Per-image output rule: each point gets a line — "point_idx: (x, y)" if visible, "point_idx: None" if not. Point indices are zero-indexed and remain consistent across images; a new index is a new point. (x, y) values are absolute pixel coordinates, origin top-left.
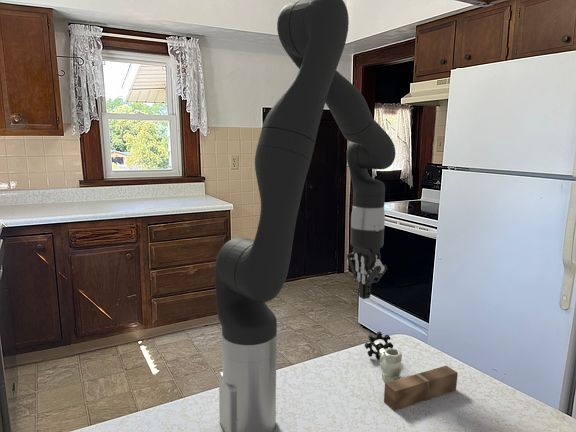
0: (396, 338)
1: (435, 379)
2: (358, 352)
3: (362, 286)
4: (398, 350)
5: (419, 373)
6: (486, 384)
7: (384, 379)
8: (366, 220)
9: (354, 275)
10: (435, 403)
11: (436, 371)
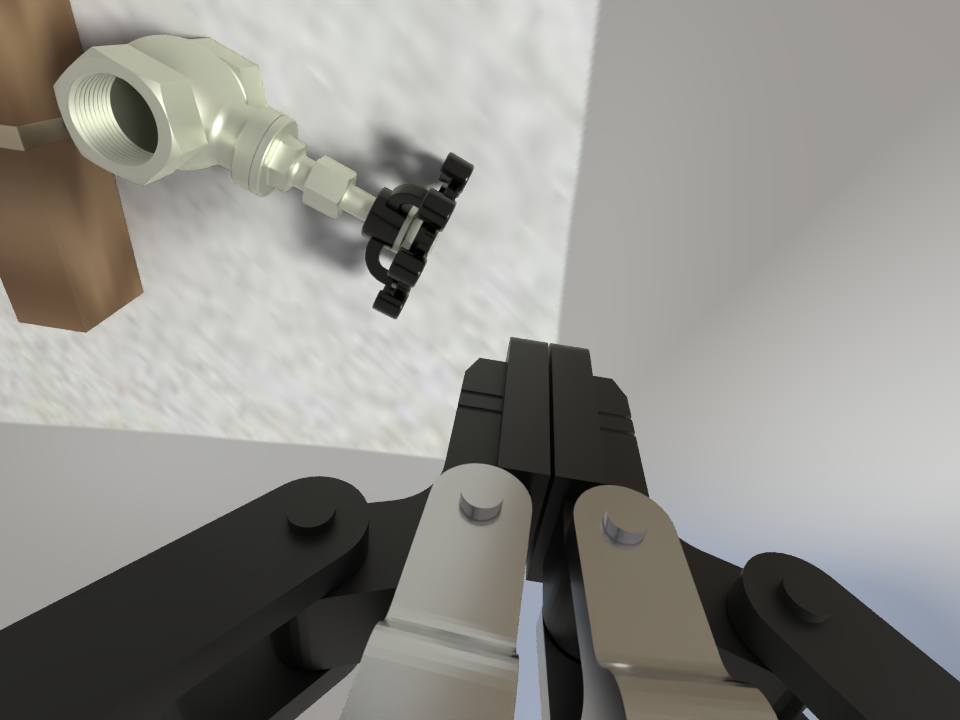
0: None
1: None
2: (545, 166)
3: (512, 437)
4: (130, 176)
5: (25, 156)
6: (107, 401)
7: (207, 42)
8: None
9: (786, 577)
10: None
11: (35, 249)
